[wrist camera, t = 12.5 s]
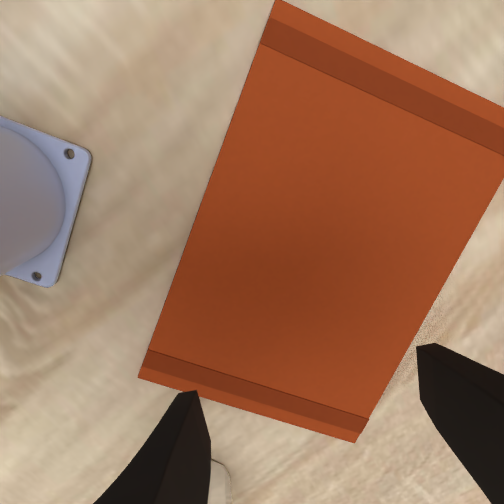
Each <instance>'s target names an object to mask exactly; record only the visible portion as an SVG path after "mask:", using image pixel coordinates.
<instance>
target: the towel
mask: <svg viewBox="0 0 504 504" xmlns="http://www.w3.org/2000/svg"><path fill="white" fill-rule="evenodd" d="M503 178H504V108H503V107H501V106H499V105H497V104H495V103H493V102H491V101H489V100H487V99H485V98H483V97H481V96H479V95H477V94H474V93H472V92H470V91H468V90H466V89H464V88H462V87H460V86H458V85H456V84H454V83H452V82H450V81H448V80H446V79H443V78H441V77H439V76H437V75H435V74H433V73H431V72H429V71H427V70H425V69H423V68H421V67H419V66H417V65H415V64H413V63H410V62H408V61H406V60H404V59H402V58H400V57H398V56H396V55H394V54H392V53H390V52H388V51H386V50H384V49H382V48H379V47H377V46H375V45H373V44H371V43H369V42H367V41H365V40H363V39H361V38H359V37H357V36H355V35H353V34H351V33H349V32H346V31H344V30H342V29H340V28H338V27H336V26H334V25H332V24H330V23H328V22H326V21H324V20H322V19H320V18H318V17H315V16H313V15H311V14H309V13H307V12H305V11H303V10H301V9H299V8H297V7H295V6H293V5H291V4H289V3H287V2H285V1H282V0H275V3H274V5H273V8H272V11H271V14H270V16H269V19H268V22H267V24H266V27H265V30H264V33H263V35H262V38H261V41H260V44H259V46H258V49H257V52H256V55H255V57H254V60H253V63H252V66H251V68H250V71H249V74H248V77H247V79H246V82H245V85H244V88H243V90H242V93H241V96H240V98H239V101H238V104H237V107H236V109H235V112H234V115H233V118H232V120H231V123H230V126H229V129H228V131H227V134H226V137H225V140H224V142H223V145H222V148H221V150H220V153H219V156H218V159H217V161H216V164H215V167H214V170H213V172H212V175H211V178H210V181H209V183H208V186H207V189H206V192H205V194H204V197H203V200H202V203H201V205H200V208H199V211H198V213H197V216H196V219H195V222H194V224H193V227H192V230H191V233H190V235H189V238H188V241H187V244H186V246H185V249H184V252H183V255H182V257H181V260H180V263H179V265H178V268H177V271H176V274H175V276H174V279H173V282H172V285H171V287H170V290H169V293H168V296H167V298H166V301H165V304H164V307H163V309H162V312H161V315H160V317H159V320H158V323H157V326H156V328H155V331H154V334H153V337H152V339H151V342H150V345H149V348H148V350H147V353H146V356H145V358H144V361H143V364H142V367H141V370H140V372H139V375H138V378H140V379H144V380H147V381H150V382H154V383H157V384H160V385H163V386H167V387H170V388H173V389H177V390H180V391H183V392H187V391H193V390H197V392H198V396H200V397H203V398H206V399H210V400H213V401H216V402H220V403H223V404H226V405H229V406H233V407H236V408H239V409H243V410H246V411H249V412H253V413H256V414H259V415H263V416H266V417H269V418H272V419H276V420H279V421H282V422H286V423H289V424H292V425H296V426H299V427H302V428H305V429H309V430H312V431H315V432H319V433H322V434H325V435H329V436H332V437H335V438H338V439H342V440H345V441H348V442H352V443H355V442H356V440H357V438H358V437H359V435H360V434H361V433H362V431H363V429H364V428H365V426H366V424H367V422H368V421H369V417H370V415H371V413H372V412H373V410H374V408H375V406H376V404H377V403H378V401H379V399H380V397H381V396H382V394H383V392H384V390H385V388H386V387H387V385H388V383H389V381H390V380H391V378H392V376H393V374H394V372H395V371H396V369H397V367H398V365H399V364H400V362H401V360H402V358H403V356H404V355H405V353H406V351H407V349H408V348H409V346H410V344H411V342H412V340H413V339H414V337H415V335H416V333H417V332H418V330H419V328H420V326H421V324H422V323H423V321H424V319H425V317H426V315H427V314H428V312H429V310H430V308H431V307H432V305H433V303H434V301H435V299H436V298H437V296H438V294H439V292H440V291H441V289H442V287H443V285H444V283H445V282H446V280H447V278H448V276H449V275H450V273H451V271H452V269H453V267H454V266H455V264H456V262H457V260H458V259H459V257H460V255H461V253H462V251H463V250H464V248H465V246H466V244H467V242H468V241H469V239H470V237H471V235H472V234H473V232H474V230H475V228H476V226H477V225H478V223H479V221H480V219H481V218H482V216H483V214H484V212H485V210H486V209H487V207H488V205H489V203H490V202H491V200H492V198H493V196H494V194H495V193H496V191H497V189H498V187H499V186H500V184H501V182H502V180H503Z"/></svg>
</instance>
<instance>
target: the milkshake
mask: <svg viewBox="0 0 504 504" xmlns="http://www.w3.org/2000/svg"><path fill="white" fill-rule="evenodd" d="M208 504H232V492H231V479H230V475H229V474H228V472H227V470H226V468H225V466H224V465H222V464H219V463H217V462H215V461H213V460H211V477H210V486H209V496H208Z"/></svg>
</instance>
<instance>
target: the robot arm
mask: <svg viewBox="0 0 504 504" xmlns="http://www.w3.org/2000/svg"><path fill="white" fill-rule="evenodd" d="M68 149H72V150H73V151H74V157H73V158H72V159H71V158H69V157H68V155H67V151H68ZM90 164H91V154H90V152H89V151H88V150H87V149H85V148H83V147H80V146H78V145H75V144H72V143H70V142H67V141H65V140H62V139H60V138H57V137H54V136H52V135H49V134H47V133H44V132H41V131H39V130H36V129H34V128H31V127H29V126H26V125H23V124H21V123H18V122H16V121H13V120H10V119H8V118H5V117H3V116H0V276H2V275H3V274H5V275H8V276H12V277H15V278H18V279H21V280H24V281H27V282H30V283H33V284H36V285H39V286H42V287H47V288H48V287H52V286H53V285H54V284H56V282H57V280H58V277H59V274H60V270H61V266H62V263H63V259H64V256H65V252H66V249H67V245H68V242H69V238H70V235H71V231H72V227H73V224H74V220H75V217H76V213H77V210H78V206H79V203H80V199H81V196H82V192H83V189H84V185H85V181H86V178H87V174H88V171H89V167H90ZM35 272H38V273H40V274H41V278H38V277H36V275H35ZM416 351H417V365H418V378H419V391H420V400H421V402H422V404H423V406H424V408H425V410H426V411H427V413H428V415H429V417H430V418H431V420H432V422H433V424H434V425H435V427H436V429H437V430H438V431H439V433H440V434H441V436H442V437H443V438H444V440H445V441H446V442H447V444H448V445H449V447H450V448H451V449H452V451H453V452H454V453H455V455H456V456H457V457H458V459H459V460H460V461H461V463H462V464H463V465H464V467H465V468H466V469H467V471H468V472H469V473H470V475H471V476H472V477H473V479H474V480H475V481H476V483H477V484H478V486H479V487H480V488H481V490H482V491H483V492H484V494H485V495H486V496H487V498H488V499H489V501H490V502H491V504H504V374H501V373H499V372H497V371H495V370H492V369H490V368H488V367H486V366H484V365H482V364H479V363H477V362H475V361H473V360H471V359H469V358H467V357H465V356H463V355H461V354H458V353H456V352H454V351H452V350H450V349H448V348H446V347H443V346H441V345H439V344H436V343H432V344H427V345H422V346H417V347H416ZM210 477H211V440H210V436H209V432H208V429H207V425H206V421H205V418H204V414H203V410H202V407H201V403H200V399H199V396H198V392H197V390H193V391H187V392H182V393H178V395H177V396H176V397H175V399H174V400H173V402H172V403H171V405H170V406H169V408H168V409H167V411H166V413H165V414H164V416H163V417H162V419H161V420H160V422H159V423H158V425H157V426H156V428H155V429H154V430H153V432H152V433H151V435H150V436H149V438H148V439H147V441H146V442H145V443H144V445H143V446H142V447H141V449H140V450H139V451H138V453H137V454H136V455H135V457H134V458H133V459H132V461H131V462H130V463H129V464H128V466H127V467H126V468H125V469H124V471H123V472H122V473H121V474H120V475H119V476H118V478H117V479H116V480H115V481H114V482H113V483H112V484H111V485H110V487H109V488H108V489H107V490H106V491H105V492H104V493H103V494H102V495H101V496H100V497H99V498H98V499H97V501H95V502H94V503H93V504H208V496H209V486H210Z"/></svg>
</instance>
